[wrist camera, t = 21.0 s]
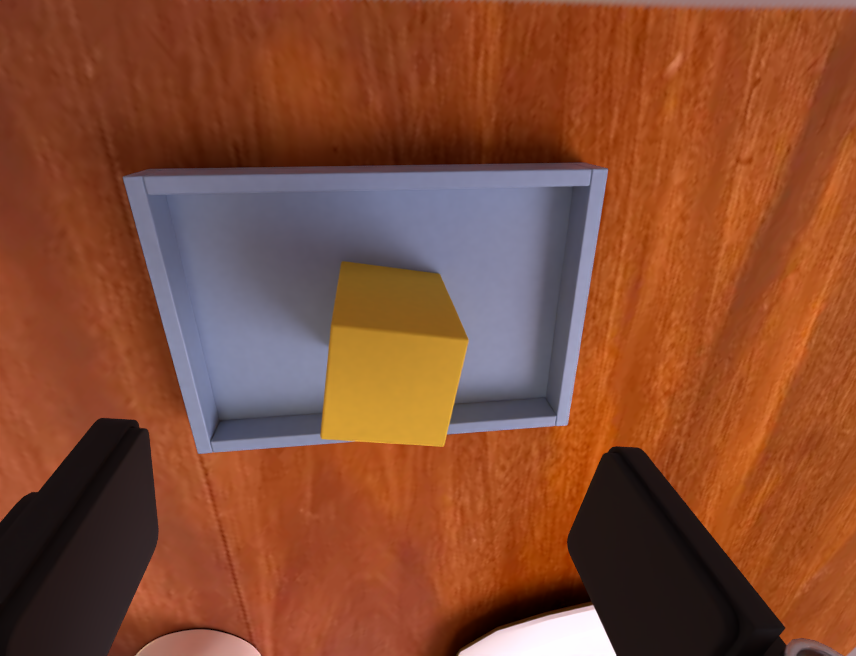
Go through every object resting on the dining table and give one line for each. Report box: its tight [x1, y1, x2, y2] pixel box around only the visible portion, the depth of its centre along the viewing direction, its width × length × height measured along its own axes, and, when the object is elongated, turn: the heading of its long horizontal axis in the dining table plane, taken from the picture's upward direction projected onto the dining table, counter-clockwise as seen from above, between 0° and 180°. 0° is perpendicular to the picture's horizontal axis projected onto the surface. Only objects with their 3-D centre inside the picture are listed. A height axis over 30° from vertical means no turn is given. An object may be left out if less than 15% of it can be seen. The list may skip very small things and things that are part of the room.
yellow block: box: [320, 261, 469, 447], centre depth 17 cm, size 4×4×6 cm
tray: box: [123, 163, 608, 454], centre depth 19 cm, size 16×11×2 cm
